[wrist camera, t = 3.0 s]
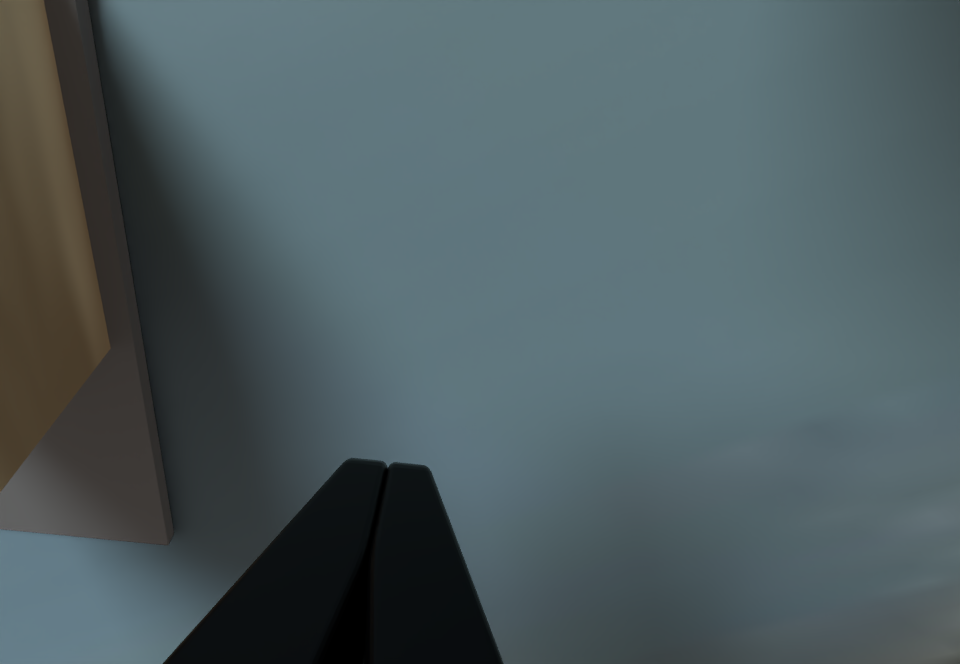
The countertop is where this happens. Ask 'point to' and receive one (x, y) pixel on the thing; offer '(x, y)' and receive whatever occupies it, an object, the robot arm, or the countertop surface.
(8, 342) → the maple block
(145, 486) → the mat
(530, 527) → the countertop surface
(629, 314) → the countertop surface
